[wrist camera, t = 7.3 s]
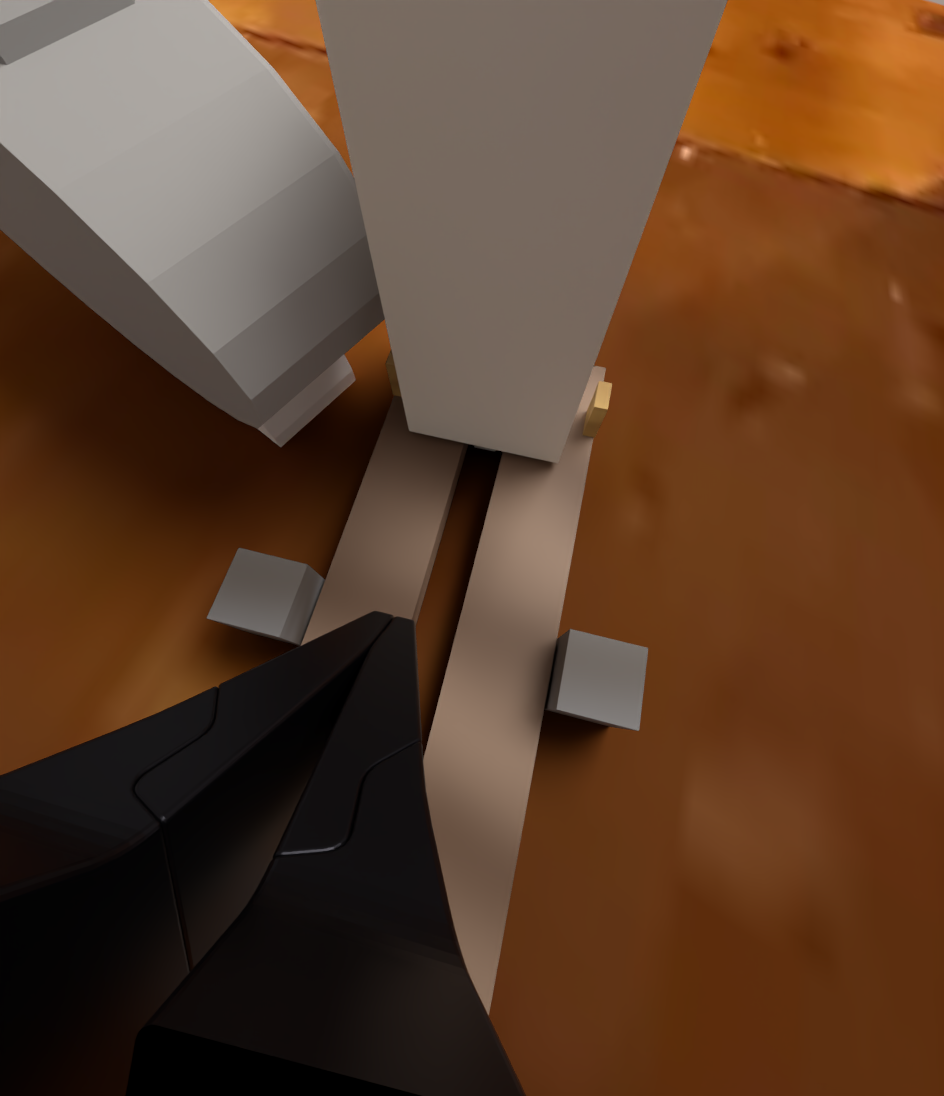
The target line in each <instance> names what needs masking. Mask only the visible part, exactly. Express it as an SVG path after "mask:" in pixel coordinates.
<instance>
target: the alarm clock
mask: <svg viewBox="0 0 944 1096" xmlns="http://www.w3.org/2000/svg"><path fill="white" fill-rule="evenodd" d="M0 230H1V231H3V232H4V233H5V234H6V235H7V236H8V237H9V238H10V239H12V240H13V241H14V242H15V243H16V244H17V245H18V246H19V247H21V248H22V249H23V250H24V251H25V252H26V253H27V254H28V255H30V256H31V257H32V258H33V259H34V260H35V261H36V262H37V263H39V264H40V265H41V266H42V267H43V268H44V269H45V270H47V271H48V272H49V273H50V274H51V275H52V276H54V277H55V278H56V279H57V280H58V281H59V282H61V283H62V284H63V285H64V286H65V287H66V288H68V289H69V290H70V291H71V292H72V293H73V294H74V295H76V296H77V297H78V298H79V299H80V300H81V301H83V302H84V303H85V304H86V305H87V306H88V307H90V308H91V309H92V310H93V311H94V312H96V313H97V314H98V315H99V316H100V317H102V318H103V319H104V320H105V321H106V322H108V323H109V324H110V325H111V326H113V327H114V328H115V329H116V330H117V331H119V332H120V333H121V334H122V335H123V336H125V337H126V338H127V339H128V340H129V341H131V342H132V343H133V344H134V345H136V346H137V347H138V348H139V349H141V350H142V351H143V352H144V353H146V354H147V355H148V356H150V357H151V358H152V359H153V360H155V361H156V362H157V363H158V364H160V365H161V366H162V367H163V368H165V369H166V370H167V371H169V372H170V373H171V374H172V375H174V376H175V377H176V378H178V379H179V380H180V381H182V382H183V383H185V384H186V385H187V386H189V387H190V388H191V389H193V390H194V391H195V392H197V393H198V394H200V395H201V396H202V397H204V398H205V399H206V400H208V401H209V402H211V403H212V404H214V405H215V406H217V407H218V408H220V409H221V410H223V411H225V412H226V413H228V414H229V415H231V416H232V417H234V418H235V419H237V420H239V421H241V422H243V423H246V424H248V425H250V426H252V427H255V428H257V429H258V430H259V431H261V432H262V433H263V434H264V435H266V436H267V437H268V438H269V439H271V440H272V441H273V442H274V443H276V444H277V445H278V446H279V447H282V446H283V445H284V444H285V443H286V442H288V441H289V440H290V439H291V438H292V437H293V436H294V435H295V434H296V433H298V432H299V431H300V430H301V429H302V428H303V427H304V426H305V425H307V424H308V423H309V422H310V421H311V420H312V419H313V418H314V417H315V416H317V415H318V414H319V413H320V412H321V411H322V410H323V409H324V408H325V407H327V406H328V405H329V404H330V403H331V402H332V401H333V400H334V399H336V398H337V397H338V396H339V395H340V394H341V393H342V392H343V391H344V390H346V389H347V388H348V387H349V386H350V385H351V384H352V383H353V382H354V381H356V379H355V376H354V373H353V370H352V368H351V366H350V364H349V363H348V361H347V359H346V357H345V355H344V354H345V353H346V352H347V351H348V350H349V349H351V348H352V347H353V346H354V345H355V344H356V343H358V342H359V341H360V340H361V339H362V338H363V337H364V336H366V335H367V334H368V333H369V332H370V331H371V330H373V329H374V328H375V327H376V326H377V325H378V324H379V323H381V322H382V321H383V320H384V319H385V318H384V313H383V308H382V304H381V299H380V295H379V290H378V285H377V281H376V276H375V272H374V267H373V262H372V258H371V253H370V249H369V244H368V239H367V235H366V230H365V225H364V221H363V216H362V212H361V207H360V202H359V198H358V193H357V189H356V184H355V179H354V177H353V176H352V174H351V172H350V170H349V169H348V167H347V165H346V164H345V162H344V160H343V158H342V157H341V155H340V153H339V152H338V151H337V149H336V148H335V147H334V145H333V144H332V143H331V142H330V140H329V139H328V138H327V136H326V135H325V134H324V133H323V131H322V130H321V129H320V127H319V126H318V125H317V124H316V122H315V121H314V120H313V118H312V117H311V116H310V115H309V113H308V112H307V111H306V109H305V108H304V107H303V106H302V104H301V103H300V102H299V100H298V99H297V98H296V97H295V95H294V94H293V93H292V91H291V90H290V89H289V88H288V86H287V85H286V84H285V82H284V81H283V80H282V79H281V77H280V76H279V75H278V73H277V72H276V71H275V70H274V68H273V67H272V66H271V65H270V64H269V63H268V62H267V61H266V60H265V59H264V58H263V57H262V56H261V55H260V54H259V53H258V52H257V51H256V50H255V49H254V48H253V47H252V46H251V45H250V43H249V42H248V41H247V40H246V39H245V38H244V37H243V36H242V35H241V34H240V33H239V32H238V31H237V30H236V29H235V28H234V27H233V26H232V25H231V24H230V23H229V22H228V21H227V20H226V19H225V18H224V17H223V16H222V15H221V13H220V12H219V11H218V10H217V9H216V8H215V7H214V6H213V5H212V4H211V3H210V2H209V1H208V0H0Z"/></svg>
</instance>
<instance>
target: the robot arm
mask: <svg viewBox="0 0 944 1096" xmlns="http://www.w3.org/2000/svg"><path fill="white" fill-rule="evenodd" d="M0 1096H526V1094H525V1092H524V1090H523V1088H522V1086H521V1084H520V1082H519V1079H518V1077H517V1075H516V1073H515V1071H514V1069H513V1067H512V1065H511V1062H510V1060H509V1058H508V1056H507V1054H506V1052H505V1050H504V1048H503V1045H502V1043H501V1041H500V1039H499V1037H498V1035H497V1033H496V1031H495V1028H494V1026H493V1024H492V1022H491V1020H490V1018H489V1016H488V1014H487V1011H486V1009H485V1007H484V1005H483V1003H482V1001H481V999H480V997H479V994H478V992H477V990H476V988H475V986H474V984H473V982H472V979H471V977H470V975H469V973H468V970H467V967H466V964H465V961H464V958H463V955H462V952H461V949H460V945H459V942H458V938H457V934H456V931H455V927H454V923H453V919H452V914H451V910H450V906H449V901H448V896H447V892H446V887H445V882H444V878H443V873H442V868H441V864H440V859H439V854H438V850H437V845H436V841H435V836H434V831H433V827H432V822H431V816H430V810H429V804H428V798H427V793H426V784H425V774H424V764H423V746H422V733H421V715H420V698H419V680H418V663H417V645H416V628H415V621H414V620H411V619H407V618H403V617H399V616H396V617H394V616H393V615H391V614H388V613H384V612H380V611H372V612H370V613H368V614H366V615H364V616H362V617H360V618H358V619H355V620H353V621H351V622H349V623H347V624H345V625H343V626H341V627H339V628H337V629H335V630H332V631H330V632H328V633H326V634H324V635H322V636H320V637H318V638H316V639H314V640H312V641H309V642H307V643H305V644H303V645H301V646H299V647H297V648H295V649H293V650H291V651H288V652H286V653H284V654H282V655H280V656H278V657H276V658H274V659H272V660H270V661H268V662H265V663H263V664H261V665H259V666H257V667H255V668H253V669H251V670H249V671H247V672H244V673H242V674H240V675H238V676H236V677H234V678H232V679H230V680H228V681H226V682H224V683H221V684H220V685H219V688H218V687H213V688H211V689H209V690H206V691H204V692H202V693H200V694H198V695H196V696H194V697H192V698H189V699H187V700H185V701H183V702H181V703H178V704H176V705H174V706H172V707H170V708H167V709H165V710H163V711H161V712H159V713H156V714H154V715H151V716H149V717H147V718H144V719H142V720H139V721H137V722H134V723H132V724H130V725H127V726H125V727H122V728H120V729H117V730H115V731H113V732H110V733H107V734H105V735H102V736H100V737H97V738H95V739H92V740H90V741H87V742H85V743H82V744H79V745H77V746H74V747H72V748H69V749H67V750H64V751H62V752H59V753H57V754H54V755H52V756H49V757H46V758H44V759H41V760H39V761H36V762H34V763H31V764H29V765H26V766H24V767H21V768H18V769H16V770H13V771H11V772H8V773H6V774H3V775H0Z"/></svg>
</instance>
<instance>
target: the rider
mask: <svg viewBox="0 0 944 1096" xmlns="http://www.w3.org/2000/svg"><path fill="white" fill-rule="evenodd" d="M726 3H727V0H316V4H317V9H318V14H319V18H320V23H321V27H322V32H323V37H324V41H325V46H326V50H327V55H328V60H329V64H330V69H331V73H332V78H333V83H334V87H335V92H336V97H337V101H338V106H339V110H340V115H341V120H342V124H343V129H344V133H345V138H346V143H347V147H348V152H349V156H350V161H351V166H352V170H353V175H354V179H355V184H356V189H357V193H358V198H359V202H360V207H361V212H362V216H363V221H364V225H365V230H366V235H367V239H368V244H369V249H370V253H371V258H372V262H373V267H374V272H375V276H376V281H377V285H378V290H379V295H380V299H381V304H382V308H383V313H384V318H385V322H386V327H387V331H388V336H389V341H390V345H391V350H392V354H393V359H394V364H395V368H396V373H397V377H398V382H399V387H400V391H401V396H402V401H403V405H404V410H405V414H406V419H407V424H408V428H409V431H411V432H416V433H421V434H425V435H430V436H434V437H439V438H444V439H448V440H453V441H457V442H462V443H467V444H471V445H474V447H475V448H480V449H485V450H489V451H494V452H495V451H496V450H499V451H503V452H508V453H513V454H517V455H522V456H526V457H531V458H536V459H540V460H545V461H549V462H554V463H558V462H559V459H560V456H561V454H562V451H563V448H564V446H565V443H566V440H567V437H568V435H569V432H570V429H571V426H572V424H573V421H574V418H575V415H576V413H577V410H578V407H579V405H580V402H581V399H582V396H583V394H584V391H585V388H586V385H587V383H588V380H589V377H590V375H591V372H592V369H593V366H594V364H595V361H596V358H597V355H598V353H599V350H600V347H601V344H602V342H603V339H604V336H605V334H606V331H607V328H608V325H609V323H610V320H611V317H612V314H613V312H614V309H615V306H616V303H617V301H618V298H619V295H620V293H621V290H622V287H623V284H624V282H625V279H626V276H627V273H628V271H629V268H630V265H631V263H632V260H633V257H634V254H635V252H636V249H637V246H638V243H639V241H640V238H641V235H642V232H643V230H644V227H645V224H646V222H647V219H648V216H649V213H650V211H651V208H652V205H653V202H654V200H655V197H656V194H657V191H658V189H659V186H660V183H661V181H662V178H663V175H664V172H665V170H666V167H667V164H668V161H669V159H670V156H671V153H672V151H673V148H674V145H675V142H676V140H677V137H678V134H679V131H680V129H681V126H682V123H683V120H684V118H685V115H686V112H687V110H688V107H689V104H690V101H691V99H692V96H693V93H694V90H695V88H696V85H697V82H698V80H699V77H700V74H701V71H702V69H703V66H704V63H705V60H706V58H707V55H708V52H709V49H710V47H711V44H712V41H713V39H714V36H715V33H716V30H717V28H718V25H719V22H720V19H721V17H722V14H723V11H724V8H725V6H726Z"/></svg>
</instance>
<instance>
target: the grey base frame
mask: <svg viewBox="0 0 944 1096" xmlns="http://www.w3.org/2000/svg"><path fill="white" fill-rule="evenodd" d="M386 368H387V372H388V376H389V380H390V384H391V388H392V392H393V395H394V397H393V400H392V403H391V405H390V408H389V411H388V414H387V416H386V419H385V422H384V424H383V427H382V430H381V432H380V435H379V438H378V440H377V443H376V446H375V448H374V451H373V454H372V456H371V459H370V462H369V464H368V467H367V470H366V472H365V475H364V478H363V480H362V483H361V486H360V488H359V491H358V494H357V496H356V499H355V502H354V505H353V507H352V510H351V513H350V515H349V518H348V521H347V523H346V526H345V529H344V531H343V534H342V537H341V539H340V542H339V545H338V547H337V550H336V553H335V555H334V558H333V561H332V563H331V566H330V569H329V571H328V574H327V577H326V579H324V578H322V577H321V576H320V575H319V574H318V573H317V572H316V571H315V570H313V569H312V568H311V567H310V566H309V565H308V564H304V563H300V562H295V561H291V560H287V559H283V558H279V557H275V556H271V555H267V554H263V553H259V552H255V551H251V550H247V549H243V548H238V550H237V552H236V555H235V557H234V559H233V561H232V563H231V566H230V568H229V570H228V572H227V574H226V577H225V579H224V581H223V583H222V585H221V588H220V590H219V592H218V594H217V596H216V599H215V601H214V603H213V605H212V607H211V610H210V612H209V614H208V616H207V619H210V620H213V621H216V622H219V623H222V624H225V625H228V626H231V627H234V628H237V629H240V630H243V631H246V632H249V633H252V634H256V635H260V636H264V637H268V638H272V639H276V640H279V641H283V642H287V643H291V644H295V645H299V646H301V645H303V644H305V643H307V642H309V641H312V640H314V639H316V638H318V637H320V636H322V635H324V634H326V633H328V632H330V631H332V630H335V629H337V628H339V627H341V626H343V625H345V624H347V623H349V622H351V621H353V620H355V619H358V618H360V617H362V616H364V615H366V614H368V613H370V612H372V611H380V612H384V613H388V614H391V615H393V616H394V617H396V616H399V617H403V618H407V619H411V620H414V621H415V627H416V623H417V620H418V616H419V613H420V609H421V606H422V602H423V599H424V596H425V592H426V589H427V585H428V582H429V578H430V575H431V572H432V568H433V565H434V561H435V558H436V554H437V551H438V548H439V544H440V541H441V537H442V534H443V530H444V527H445V523H446V520H447V517H448V513H449V510H450V506H451V503H452V499H453V496H454V493H455V489H456V486H457V482H458V479H459V475H460V472H461V469H462V465H463V462H464V458H465V455H466V451H467V448H468V444H467V443H462V442H457V441H453V440H448V439H444V438H439V437H434V436H430V435H425V434H421V433H416V432H411V431H409V428H408V424H407V419H406V414H405V410H404V405H403V401H402V396H401V391H400V387H399V382H398V377H397V373H396V368H395V364H394V359H393V354H392V350H391V351H390V354H389V356H388V359H387V361H386ZM605 370H606V368H603V367H598V366H593V369H592V372H591V375H590V377H589V380H588V383H587V385H586V388H585V391H584V394H583V396H582V399H581V402H580V405H579V407H578V410H577V413H576V415H575V418H574V421H573V424H572V426H571V429H570V432H569V435H568V437H567V440H566V443H565V446H564V448H563V451H562V454H561V456H560V459H559V462H558V463H554V462H549V461H545V460H540V459H536V458H531V457H526V456H522V455H517V454H513V453H508V452H503V453H502V457H501V461H500V465H499V469H498V473H497V476H496V480H495V484H494V488H493V492H492V496H491V500H490V503H489V507H488V511H487V515H486V519H485V523H484V527H483V531H482V534H481V538H480V542H479V546H478V550H477V554H476V558H475V561H474V565H473V569H472V573H471V577H470V581H469V585H468V589H467V592H466V596H465V600H464V604H463V608H462V612H461V616H460V619H459V623H458V627H457V631H456V635H455V639H454V643H453V646H452V650H451V654H450V658H449V662H448V666H447V670H446V674H445V677H444V681H443V685H442V689H441V693H440V697H439V701H438V704H437V708H436V712H435V716H434V720H433V724H432V728H431V731H430V735H429V739H428V743H427V747H426V751H425V755H424V759H423V764H424V774H425V784H426V793H427V798H428V804H429V810H430V816H431V822H432V827H433V831H434V836H435V841H436V845H437V850H438V854H439V859H440V864H441V868H442V873H443V878H444V882H445V887H446V892H447V896H448V901H449V906H450V910H451V914H452V919H453V923H454V927H455V931H456V934H457V938H458V942H459V945H460V949H461V952H462V955H463V958H464V961H465V964H466V967H467V970H468V973H469V975H470V977H471V979H472V982H473V984H474V986H475V988H476V990H477V992H478V994H479V997H480V999H481V1001H482V1003H483V1005H484V1007H485V1009H486V1011H487V1014H488V1016H489V1011H490V1006H491V1000H492V995H493V989H494V983H495V978H496V972H497V967H498V961H499V956H500V950H501V945H502V939H503V934H504V928H505V923H506V917H507V912H508V906H509V901H510V895H511V890H512V884H513V879H514V873H515V867H516V862H517V856H518V851H519V845H520V840H521V834H522V829H523V823H524V818H525V812H526V807H527V801H528V796H529V790H530V785H531V779H532V774H533V768H534V762H535V757H536V751H537V746H538V740H539V735H540V729H541V724H542V718H543V713H544V710H548V711H552V712H555V713H559V714H563V715H567V716H571V717H575V718H578V719H582V720H586V721H590V722H594V723H598V724H601V725H605V726H609V727H616V728H623V729H630V730H637V731H639V726H640V717H641V708H642V699H643V690H644V681H645V672H646V663H647V654H648V648H645V647H641V646H637V645H633V644H629V643H625V642H621V641H617V640H613V639H609V638H605V637H601V636H597V635H593V634H589V633H584V632H580V631H576V630H572V629H570V630H568V631H567V632H566V633H565V634H563V635H562V636H561V637H559V638H558V639H557V635H558V630H559V624H560V619H561V613H562V608H563V602H564V597H565V591H566V586H567V580H568V575H569V569H570V564H571V558H572V553H573V547H574V541H575V536H576V530H577V525H578V519H579V514H580V508H581V503H582V497H583V492H584V486H585V481H586V475H587V470H588V464H589V459H590V453H591V448H592V442H593V437H594V438H595V436H596V434H597V431H598V429H599V427H600V425H601V423H602V421H603V419H604V416H605V414H606V412H607V410H608V405H609V399H610V393H611V388H612V383H607V382H603V381H604V376H605Z"/></svg>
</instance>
